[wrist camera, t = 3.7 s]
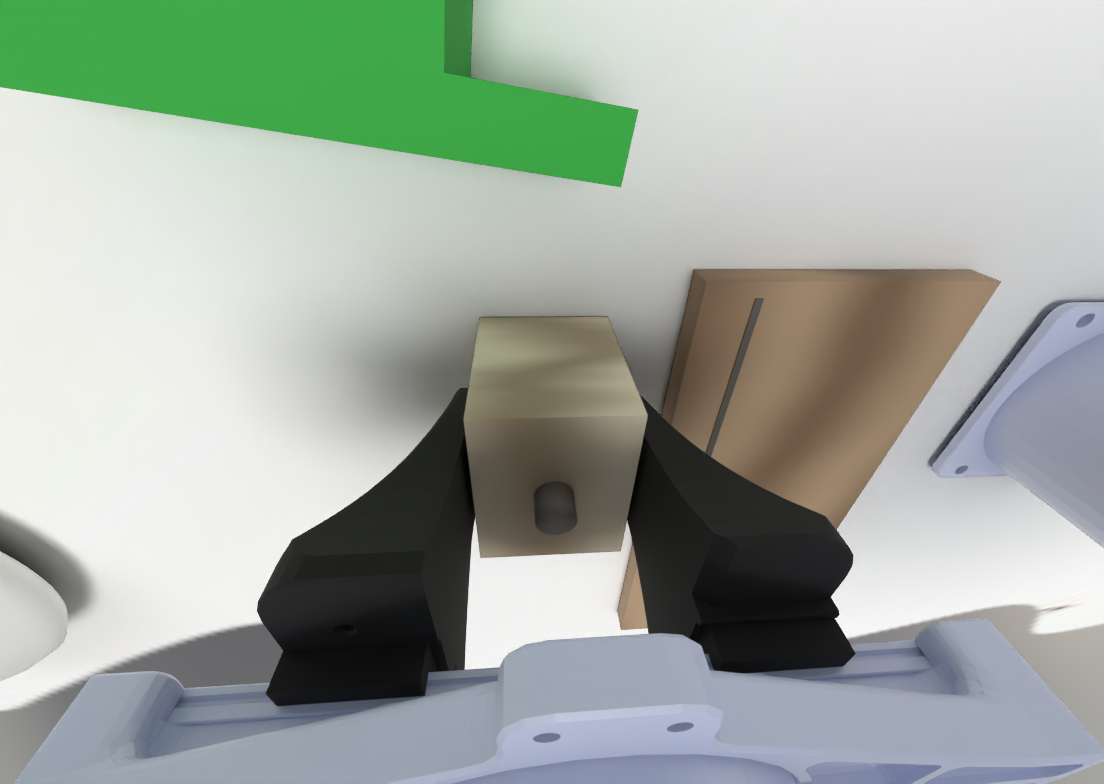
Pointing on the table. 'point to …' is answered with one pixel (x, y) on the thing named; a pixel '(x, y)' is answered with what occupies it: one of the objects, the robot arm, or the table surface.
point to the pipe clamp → (312, 76)
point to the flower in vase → (27, 618)
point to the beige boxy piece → (551, 436)
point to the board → (809, 376)
